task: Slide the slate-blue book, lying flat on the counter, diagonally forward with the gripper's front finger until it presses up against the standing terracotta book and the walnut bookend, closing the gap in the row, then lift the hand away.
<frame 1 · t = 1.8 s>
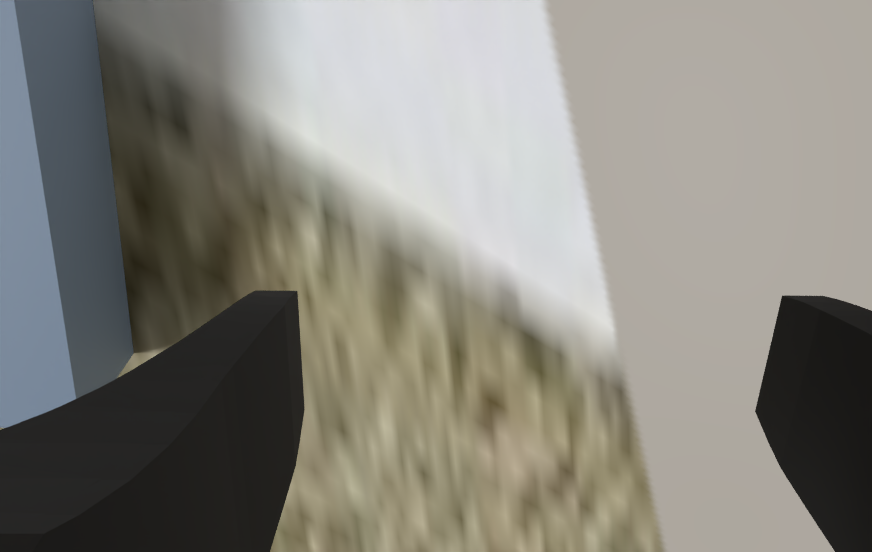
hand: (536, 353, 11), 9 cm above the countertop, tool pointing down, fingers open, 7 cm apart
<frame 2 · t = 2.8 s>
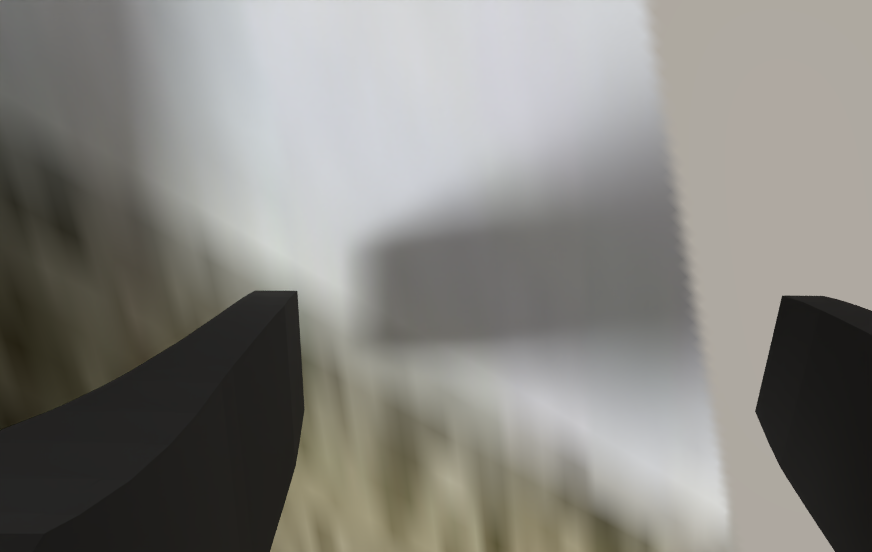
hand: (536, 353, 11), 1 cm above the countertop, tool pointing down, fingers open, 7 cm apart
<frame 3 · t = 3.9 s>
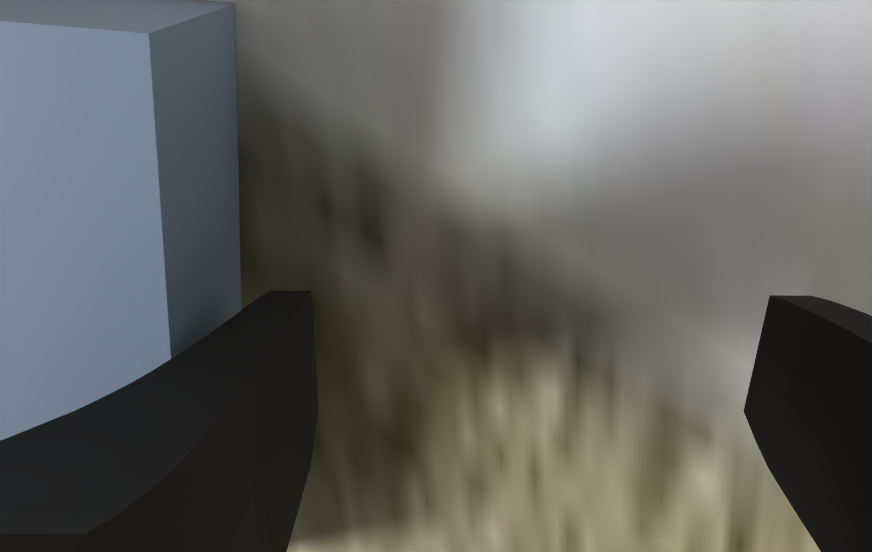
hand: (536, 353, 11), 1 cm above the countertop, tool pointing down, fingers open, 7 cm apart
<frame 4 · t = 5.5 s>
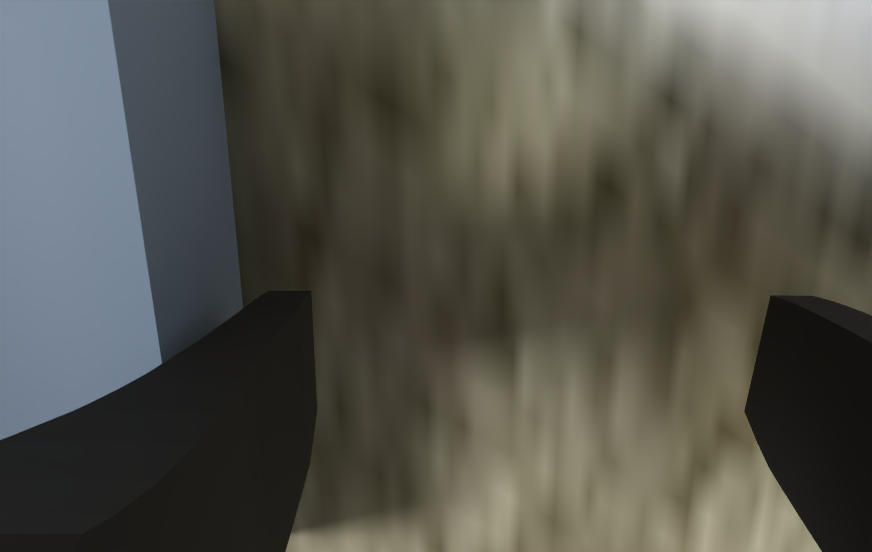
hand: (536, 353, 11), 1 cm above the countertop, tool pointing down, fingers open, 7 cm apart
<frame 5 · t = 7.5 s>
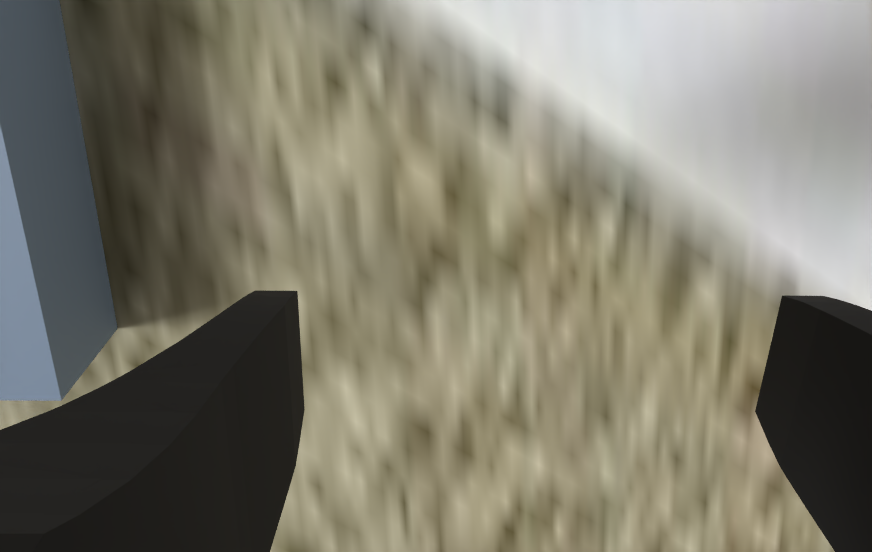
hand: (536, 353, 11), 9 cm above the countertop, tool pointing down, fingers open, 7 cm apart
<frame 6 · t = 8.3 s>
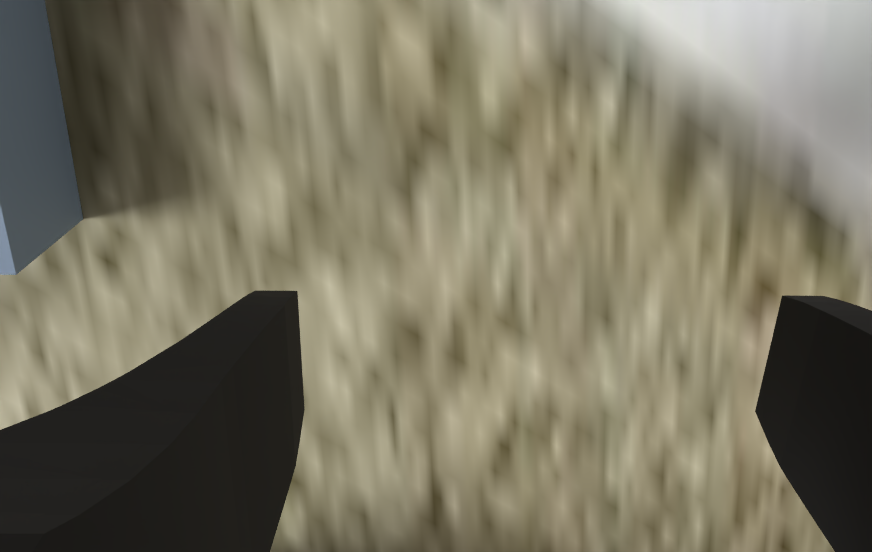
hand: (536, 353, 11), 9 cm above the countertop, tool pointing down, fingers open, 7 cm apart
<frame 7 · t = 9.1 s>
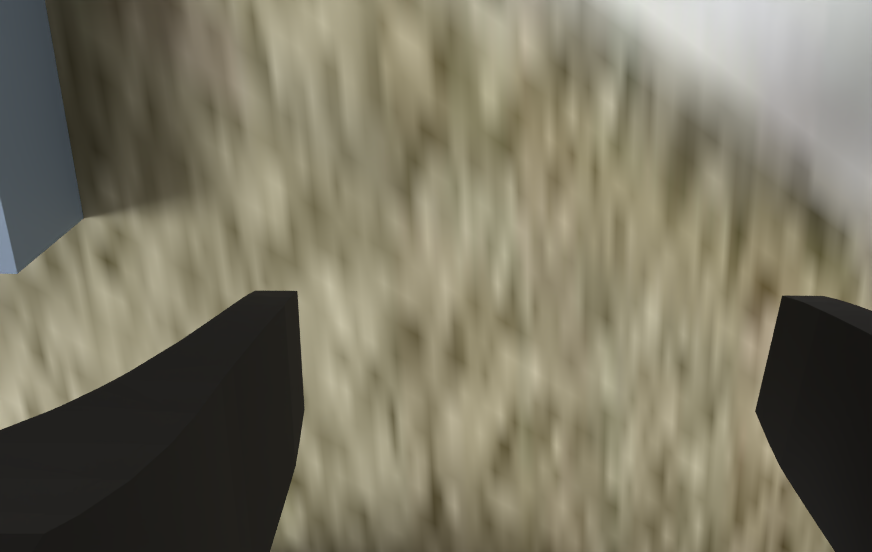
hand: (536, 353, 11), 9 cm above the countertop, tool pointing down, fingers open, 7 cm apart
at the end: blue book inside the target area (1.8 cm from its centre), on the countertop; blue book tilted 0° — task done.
